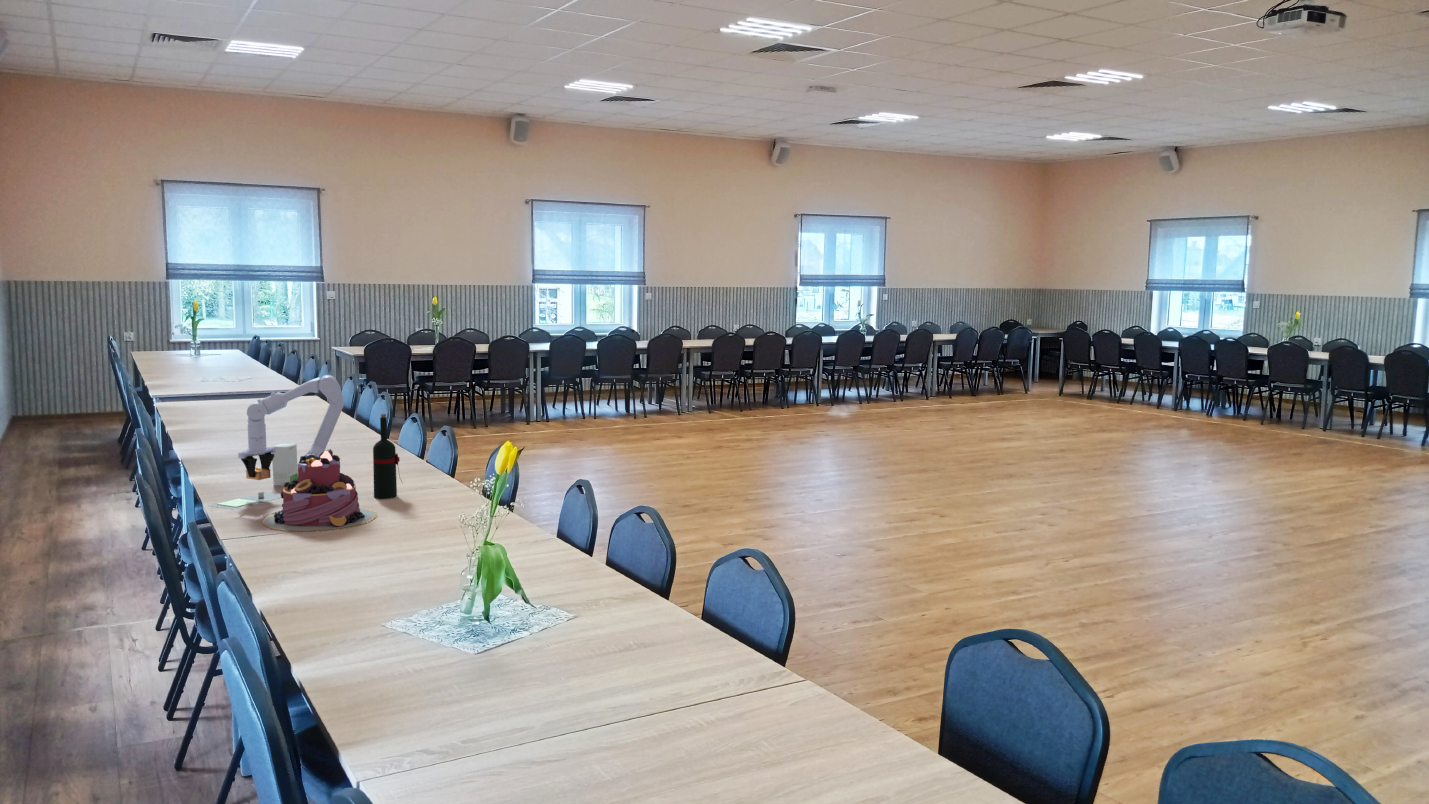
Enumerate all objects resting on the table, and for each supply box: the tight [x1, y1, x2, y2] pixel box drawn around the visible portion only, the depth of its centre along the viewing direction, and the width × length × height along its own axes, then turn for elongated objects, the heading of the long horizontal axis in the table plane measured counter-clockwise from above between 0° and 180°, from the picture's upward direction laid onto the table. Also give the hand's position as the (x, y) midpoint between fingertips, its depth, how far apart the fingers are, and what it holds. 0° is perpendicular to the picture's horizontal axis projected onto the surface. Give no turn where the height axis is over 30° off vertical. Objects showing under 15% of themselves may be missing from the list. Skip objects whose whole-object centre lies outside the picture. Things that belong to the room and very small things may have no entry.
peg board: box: [207, 491, 282, 510], centre depth 355 cm, size 12×24×3 cm, turn 156°
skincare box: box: [271, 443, 298, 487], centre depth 383 cm, size 8×7×16 cm
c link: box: [245, 467, 272, 481], centre depth 358 cm, size 6×5×3 cm
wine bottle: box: [372, 413, 404, 500], centre depth 367 cm, size 8×10×30 cm
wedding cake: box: [261, 448, 378, 533], centre depth 334 cm, size 35×35×23 cm
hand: (258, 475), depth 358 cm, fingers closed on c link, 5 cm apart
